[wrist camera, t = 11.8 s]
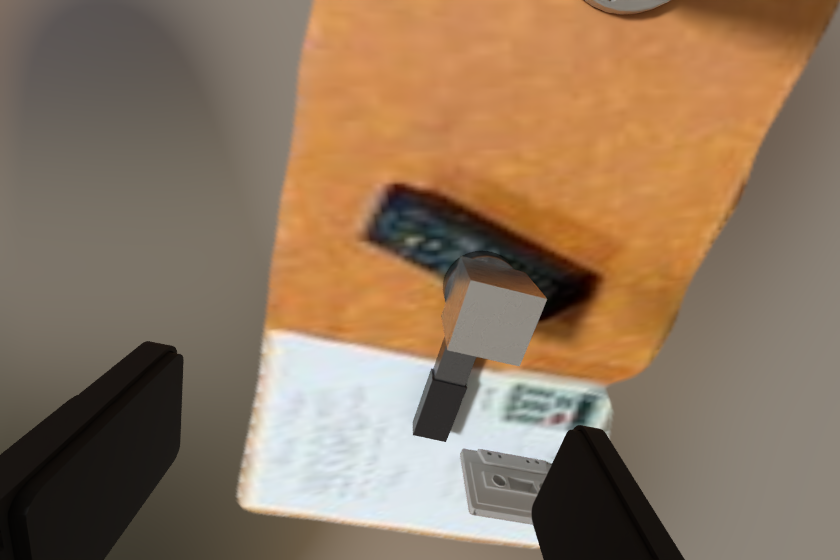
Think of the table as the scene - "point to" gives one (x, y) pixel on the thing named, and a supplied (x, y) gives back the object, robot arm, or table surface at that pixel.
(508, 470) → the cassette
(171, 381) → the robot arm
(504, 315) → the grey block
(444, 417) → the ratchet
